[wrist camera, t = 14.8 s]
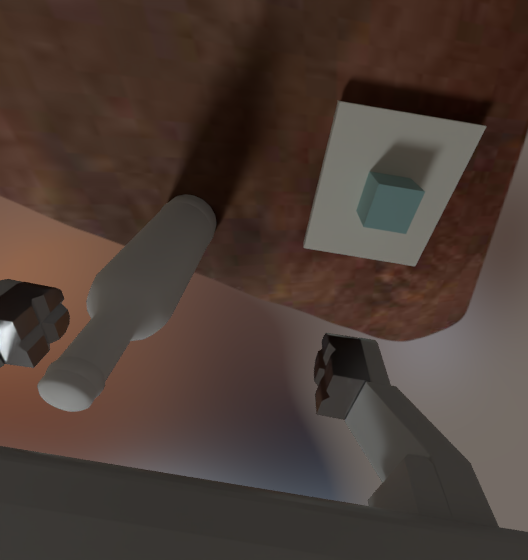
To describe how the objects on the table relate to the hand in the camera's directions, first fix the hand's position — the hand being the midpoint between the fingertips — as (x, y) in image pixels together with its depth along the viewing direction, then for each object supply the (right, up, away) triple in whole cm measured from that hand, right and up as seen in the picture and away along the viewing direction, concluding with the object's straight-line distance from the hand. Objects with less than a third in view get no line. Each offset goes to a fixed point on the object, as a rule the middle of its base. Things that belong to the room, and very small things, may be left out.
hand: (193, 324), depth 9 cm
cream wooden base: (+17, +14, +30) cm, 37 cm away
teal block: (+17, +12, +28) cm, 35 cm away
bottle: (-9, +10, +36) cm, 38 cm away
